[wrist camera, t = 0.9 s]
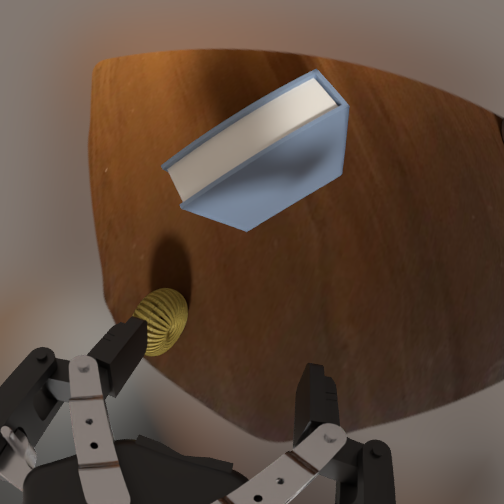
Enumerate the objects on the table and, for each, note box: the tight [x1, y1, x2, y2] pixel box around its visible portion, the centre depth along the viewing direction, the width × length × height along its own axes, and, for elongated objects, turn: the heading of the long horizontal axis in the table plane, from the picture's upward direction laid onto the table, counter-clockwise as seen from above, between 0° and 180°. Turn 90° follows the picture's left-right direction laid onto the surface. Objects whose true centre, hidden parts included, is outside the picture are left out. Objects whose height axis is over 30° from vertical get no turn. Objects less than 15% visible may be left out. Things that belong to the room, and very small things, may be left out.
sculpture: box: [133, 288, 188, 356], centre depth 30 cm, size 8×4×8 cm, turn 156°
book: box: [161, 69, 349, 232], centre depth 24 cm, size 4×12×15 cm, turn 120°
